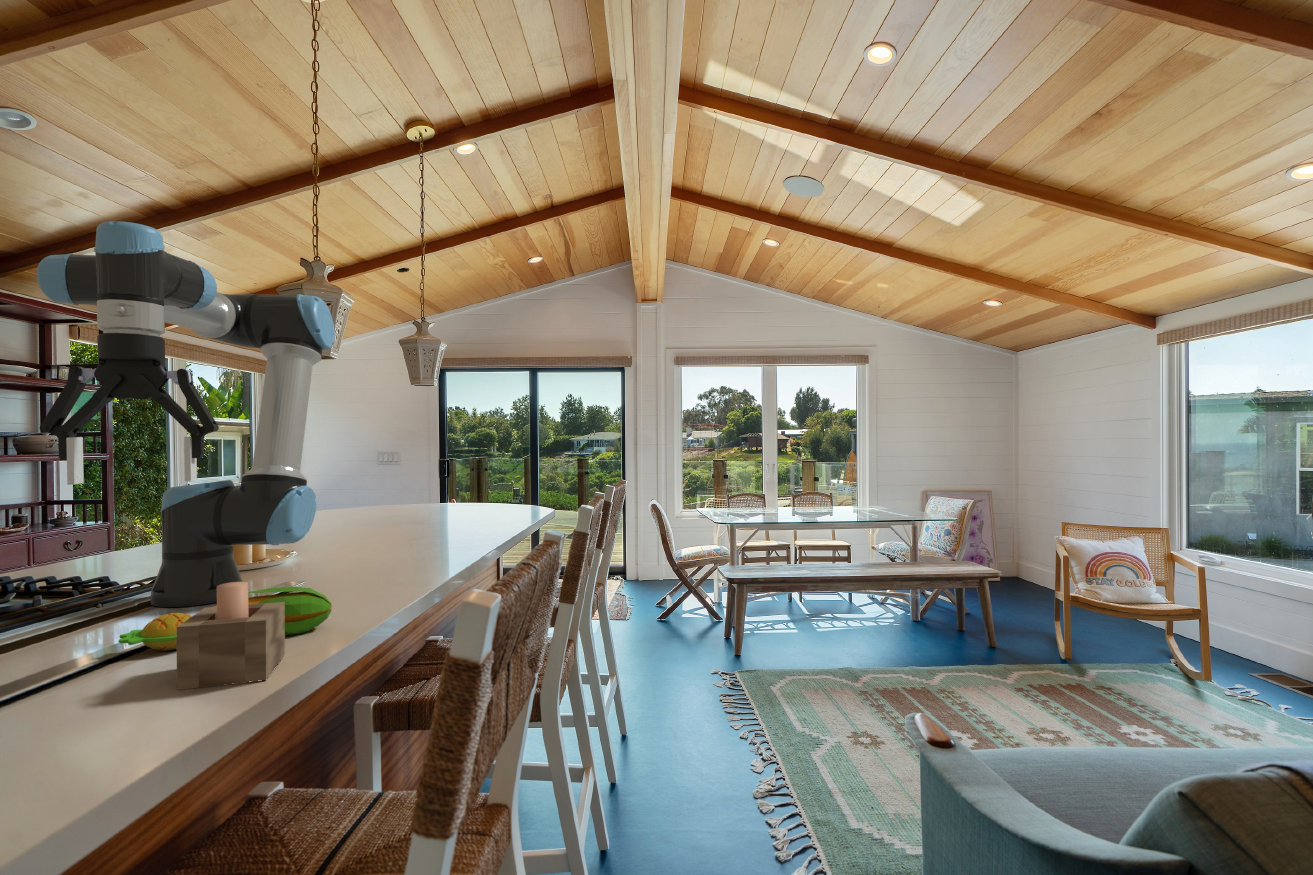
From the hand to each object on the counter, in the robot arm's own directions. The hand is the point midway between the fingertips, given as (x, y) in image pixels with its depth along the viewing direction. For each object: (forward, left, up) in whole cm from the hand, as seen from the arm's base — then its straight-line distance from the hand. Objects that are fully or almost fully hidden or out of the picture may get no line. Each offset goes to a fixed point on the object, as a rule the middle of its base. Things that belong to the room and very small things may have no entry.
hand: (134, 482), depth 93 cm
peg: (+9, +15, -26) cm, 31 cm away
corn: (-8, +14, -26) cm, 31 cm away
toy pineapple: (-4, +2, -26) cm, 26 cm away
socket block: (+9, +15, -26) cm, 31 cm away
